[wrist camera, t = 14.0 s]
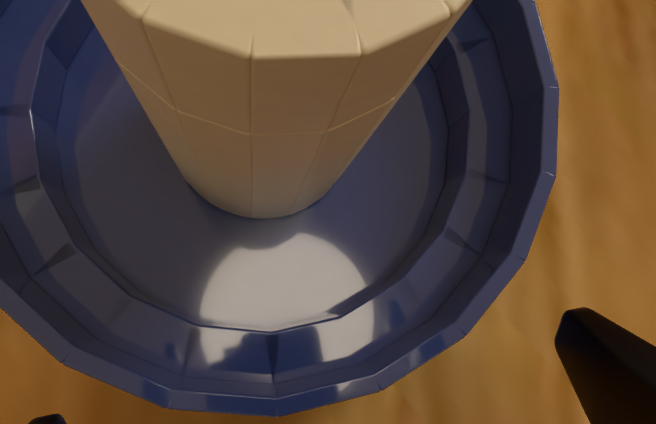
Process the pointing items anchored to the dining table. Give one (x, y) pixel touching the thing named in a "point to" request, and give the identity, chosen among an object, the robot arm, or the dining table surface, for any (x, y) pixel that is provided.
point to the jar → (269, 85)
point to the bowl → (266, 224)
